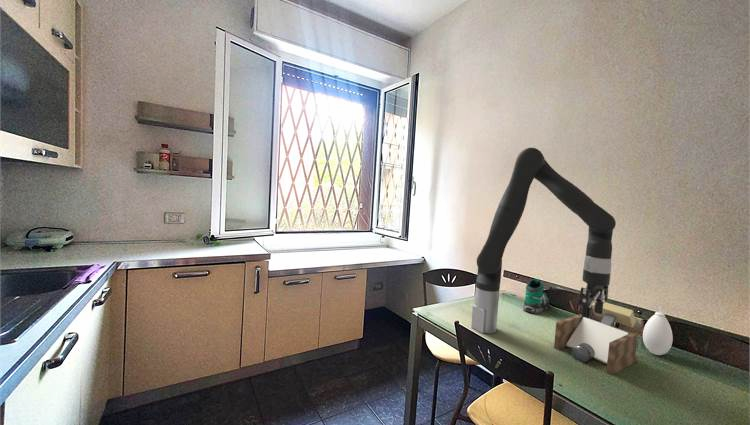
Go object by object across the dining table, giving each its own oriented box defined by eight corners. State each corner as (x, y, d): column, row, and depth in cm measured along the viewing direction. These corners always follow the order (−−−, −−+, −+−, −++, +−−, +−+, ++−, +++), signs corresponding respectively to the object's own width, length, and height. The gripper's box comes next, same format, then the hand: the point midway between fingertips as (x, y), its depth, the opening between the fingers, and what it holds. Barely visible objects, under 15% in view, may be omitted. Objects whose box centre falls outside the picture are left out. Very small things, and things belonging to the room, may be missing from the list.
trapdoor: (613, 371, 98) (609, 360, 96) (567, 350, 110) (563, 339, 108) (640, 322, 105) (637, 311, 103) (594, 308, 118) (591, 298, 116)
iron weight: (594, 361, 101) (586, 365, 98) (578, 353, 105) (570, 357, 103) (595, 347, 100) (588, 351, 98) (579, 340, 104) (572, 344, 102)
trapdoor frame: (611, 375, 93) (614, 344, 92) (554, 347, 109) (556, 321, 108) (637, 360, 102) (640, 332, 102) (580, 337, 118) (583, 313, 117)
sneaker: (553, 305, 154) (556, 277, 153) (537, 316, 138) (539, 285, 137) (534, 299, 160) (537, 272, 159) (516, 310, 144) (519, 280, 143)
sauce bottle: (671, 355, 107) (677, 307, 106) (669, 362, 102) (675, 312, 101) (642, 345, 113) (647, 300, 112) (639, 352, 108) (644, 305, 107)
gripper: (594, 265, 108) (590, 308, 109) (574, 268, 101) (569, 314, 102) (619, 270, 101) (614, 316, 102) (599, 274, 94) (594, 323, 95)
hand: (592, 315), depth 102 cm, fingers open, 8 cm apart
